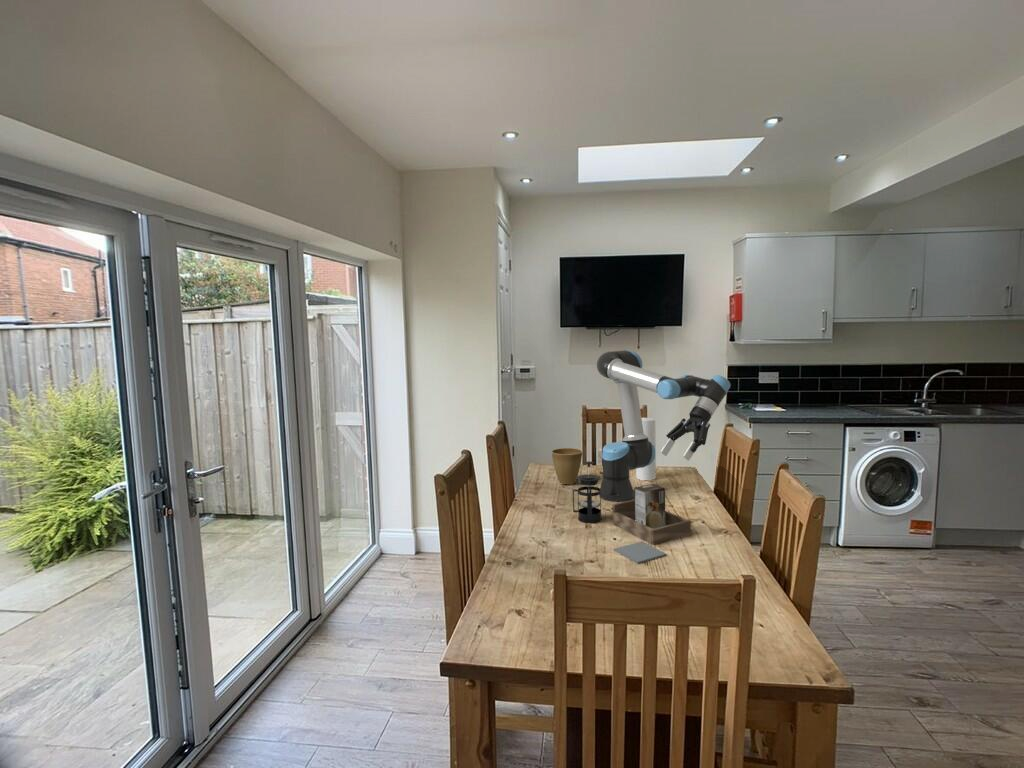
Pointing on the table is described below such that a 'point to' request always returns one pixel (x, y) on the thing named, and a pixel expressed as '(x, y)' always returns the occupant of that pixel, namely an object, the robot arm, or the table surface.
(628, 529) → the wooden tray
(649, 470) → the cylinder container
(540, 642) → the table surface
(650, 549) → the slate mat
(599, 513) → the french press
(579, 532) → the table surface
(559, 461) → the plant pot
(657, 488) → the coffee box
